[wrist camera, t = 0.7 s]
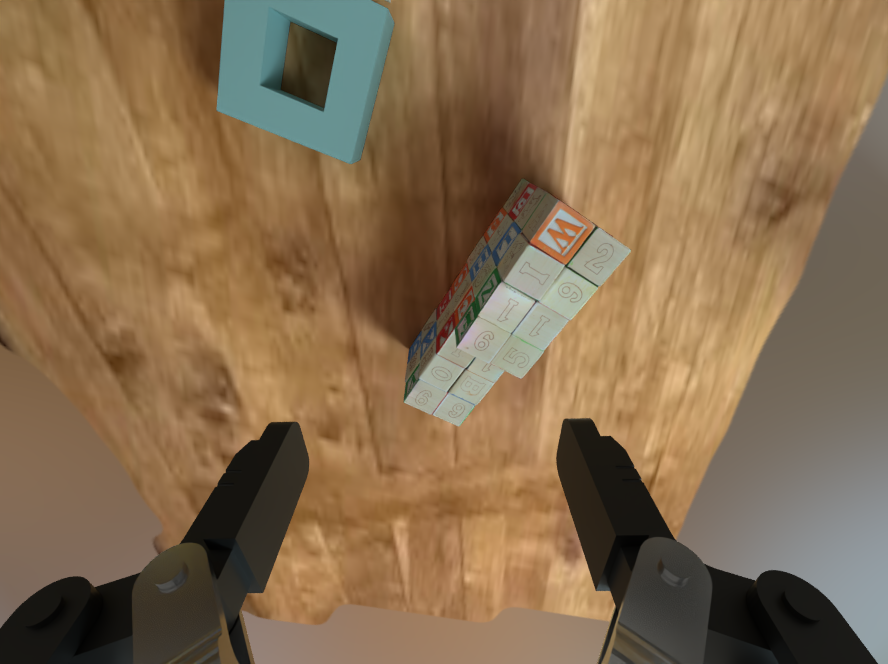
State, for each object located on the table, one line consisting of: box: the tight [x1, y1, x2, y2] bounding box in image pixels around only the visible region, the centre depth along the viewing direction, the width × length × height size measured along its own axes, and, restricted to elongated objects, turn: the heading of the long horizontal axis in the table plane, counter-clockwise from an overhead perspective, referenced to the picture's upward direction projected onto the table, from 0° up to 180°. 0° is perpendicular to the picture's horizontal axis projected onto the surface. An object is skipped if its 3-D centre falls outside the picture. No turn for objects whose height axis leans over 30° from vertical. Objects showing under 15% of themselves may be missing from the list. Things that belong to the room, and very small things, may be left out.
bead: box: [217, 0, 394, 164], centre depth 27 cm, size 10×10×4 cm
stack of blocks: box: [404, 179, 631, 426], centre depth 33 cm, size 21×6×12 cm, turn 149°
